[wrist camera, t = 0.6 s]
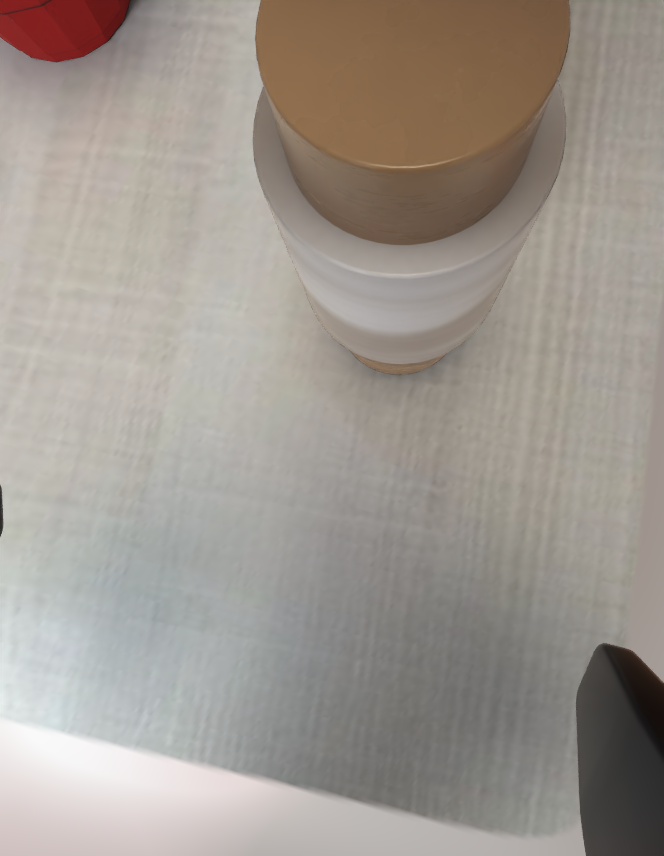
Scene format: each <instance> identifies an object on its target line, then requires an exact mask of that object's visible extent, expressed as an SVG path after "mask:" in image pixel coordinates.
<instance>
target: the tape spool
mask: <svg viewBox="0 0 664 856" xmlns="http://www.w3.org/2000/svg"><path fill="white" fill-rule="evenodd" d="M569 36H570V7H569V0H261V2H260V7H259V12H258V17H257V23H256V37H255V41H256V55H257V61H258V66H259V71H260V75H261V78H262V82H263V85H264V87H263V89H262V92H261V95H260V98H259V101H258V104H257V109H256V114H255V119H254V129H253V151H254V161H255V166H256V171H257V175H258V179H259V182H260V184H261V187H262V190H263V193H264V195H265V198H266V200H267V202H268V205H269V207H270V210H271V212H272V214H273V217H274V219H275V221H276V224H277V226H278V229H279V231H280V233H281V236H282V238H283V240H284V243H285V245H286V247H287V250H288V252H289V255H290V257H291V259H292V262H293V264H294V266H295V269H296V271H297V274H298V276H299V278H300V281H301V283H302V285H303V288H304V290H305V292H306V295H307V297H308V300H309V302H310V304H311V307H312V309H313V311H314V313H315V315H316V317H317V318H318V320H319V321H320V323H321V324H322V326H323V327H324V328H325V330H326V331H327V332H328V333H329V334H330V335H331V336H332V337H333V338H334V339H335V340H336V341H338V342H339V343H340V344H341V345H343V346H344V347H346V348H347V349H349V350H350V351H351V352H352V353H353V355H354V356H355V357H356V358H357V359H359V360H360V361H361V362H362V363H364V364H365V365H367V366H368V367H370V368H372V369H375V370H377V371H380V372H383V373H388V374H398V375H402V374H411V373H415V372H419V371H421V370H424V369H426V368H428V367H430V366H432V365H434V364H435V363H437V362H438V361H439V360H440V359H442V358H443V357H444V356H445V355H446V354H447V352H449V351H451V350H453V349H454V348H456V347H457V346H459V345H460V344H462V343H463V342H464V341H466V340H467V339H468V338H469V337H470V336H471V335H472V334H473V333H474V332H475V331H476V330H477V329H478V327H479V326H480V325H481V324H482V323H483V321H484V320H485V318H486V316H487V315H488V313H489V312H490V310H491V308H492V306H493V304H494V302H495V300H496V298H497V296H498V294H499V292H500V290H501V288H502V286H503V284H504V282H505V280H506V278H507V276H508V274H509V272H510V270H511V268H512V266H513V264H514V262H515V260H516V258H517V256H518V254H519V252H520V250H521V248H522V247H523V245H524V243H525V241H526V239H527V237H528V235H529V233H530V231H531V229H532V227H533V225H534V223H535V221H536V219H537V217H538V215H539V213H540V211H541V209H542V207H543V205H544V203H545V201H546V199H547V197H548V195H549V193H550V191H551V189H552V187H553V184H554V182H555V180H556V178H557V175H558V172H559V169H560V165H561V162H562V159H563V153H564V147H565V140H566V114H565V107H564V99H563V96H562V92H561V89H560V85H559V82H558V77H559V75H560V72H561V69H562V66H563V63H564V59H565V56H566V53H567V48H568V42H569Z"/></svg>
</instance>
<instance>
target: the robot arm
mask: <svg viewBox="0 0 664 856" xmlns="http://www.w3.org/2000/svg"><path fill="white" fill-rule="evenodd" d="M2 530H3V505H2V488H1V485H0V536H1V534H2ZM576 717H577V745H578V773H579V799H580V815H581V823H582V830H583V839H584V846H585V852H586V856H664V683H663V682H662V681H661V680H660V679H659V678H658V677H657V676H656V674H655V673H654V672H653V671H652V670H651V669H650V668H649V667H648V666H647V665H646V664H645V663H644V662H643V661H642V660H641V659H640V658H639V657H638V656H637V655H636V654H635V653H634V652H633V651H631V650H629V649H626V648H622V647H618V646H614V645H610V644H607V643H602V644H600V645H598V647H597V648H596V649H595V651H594V653H593V655H592V658H591V660H590V662H589V665H588V667H587V669H586V672H585V674H584V676H583V678H582V681H581V683H580V685H579V688H578V692H577V698H576Z"/></svg>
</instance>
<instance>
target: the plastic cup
mask: <svg viewBox="0 0 664 856" xmlns="http://www.w3.org/2000/svg"><path fill="white" fill-rule="evenodd" d="M129 1H130V0H0V37H1V38H2V39H4V40H5V41H7V42H8V43H9V44H11V45H12V46H14V47H15V48H17V49H18V50H20V51H23V52H24V53H26V54H27V55H28V56H30V57H31V58H36V59H42V60H47V61H53V62H60V61H65V60H70V59H74V58H79V57H84V56H85V55H87V54H88V53H90V52H92V51H93V50H95V49H96V48H98V47H100V46H101V45H103V44H104V43H106V42H107V41H108V40H109V39H110V37H111V36H112V35H113V33H114V32H115V31H116V30H117V28H118V27H119V26H120V24H121V23H122V22H123V21H124V18H125V15H126V11H127V8H128V5H129Z"/></svg>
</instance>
